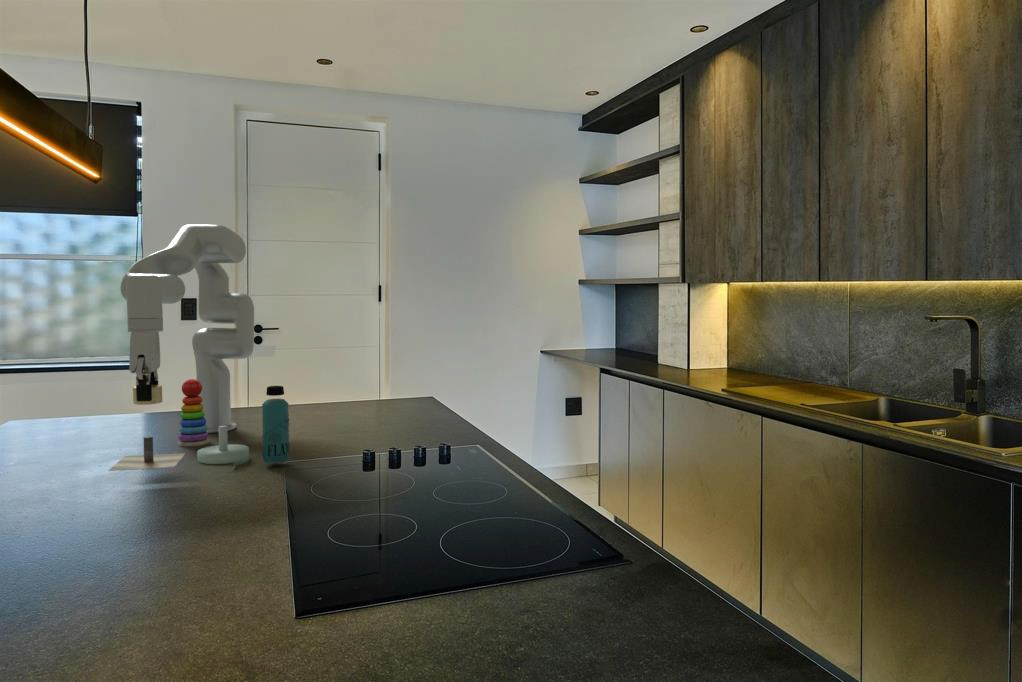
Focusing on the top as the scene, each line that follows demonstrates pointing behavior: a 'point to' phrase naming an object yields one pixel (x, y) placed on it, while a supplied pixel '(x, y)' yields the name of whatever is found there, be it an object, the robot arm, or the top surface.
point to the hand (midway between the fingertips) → (147, 397)
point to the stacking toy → (192, 416)
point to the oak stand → (147, 459)
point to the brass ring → (155, 395)
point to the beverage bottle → (275, 427)
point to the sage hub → (223, 451)
